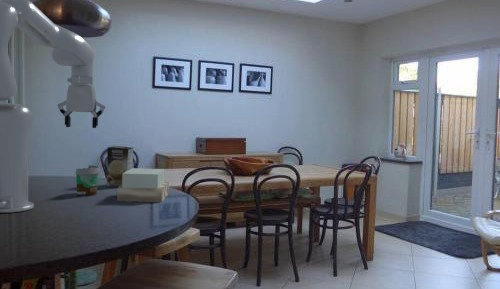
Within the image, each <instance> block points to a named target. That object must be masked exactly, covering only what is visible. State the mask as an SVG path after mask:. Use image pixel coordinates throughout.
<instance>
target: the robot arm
mask: <svg viewBox="0 0 500 289" xmlns="http://www.w3.org/2000/svg"><path fill="white" fill-rule="evenodd" d="M16 28H18V29H19V30H20V31H22V32H23V33H24V34H26V36H28V37H29V38H30V39H31V40H32V41H33V42H35V43H36V44H38V45H41V46H44V47H47V48H51V49H52V51H51V58H52V60H53V61H54V62H55V63H56V64H57V65H59V66H62V67H71V69H70V70H71V73H70V74H71V76H70V78H67V79H66V81H67V83H70V84H69V85H68V87H67V91H66V92H67V93H66V100H65V101H63V102H60V103H58V104H57V108H58V110H59V112H60V113H61V114H62V116H64V125H65V128H70V127H72V126H71V123H72V122H71V121H72V120H71V114H72V113H73V112H74V113H76V112H77V113H91V115H92V116H93V117H92V120H91V121H92V124H91V125H92V129H97V127H98V125H99V117H100V116H101V115H102V114H103V112H104V111H105V109H106V105H103V104H102V103H100V102H99V101H97V97H96V96H97V95H96V90H95V86H94V85H93V81H94V79H93V77H94V73H93V72H94V69H93V68H94V61H95V60H94V59H95V52H94V50H93V48H92V47H91V45H90V44H89V43H88V42H87V41H86V40H85V38H83V37H82V36H81V35H79V34H77V33H75V32H73V31H71V30H69V29H67V28H64V27H62V26H60V25H58V24H56V23H54V22H53V21H52V20H51V19H50V18H48V17H47V15H45V14H44V12H42V10H40V9H39V8H38V7H37V6H36V5H35V4H34V3H33V2H32V1H31V0H0V213H2V214H3V213H4V214H5V213H17V212H18V213H20V212H25V211H29V210H31V209H33V208H35V204H34V202H31V201H29V145H30V136H31V132H32V131H31V130H32V126H33V114H32V112H31V110H30V109H29V108H27V106H25V105H22V104H19V103H11V102H5V101H10V100H12V99H15V97H16V95H17V94H18V84H17V80H16V77H15V74H14V70H13V66H12V64H11V60H10V56H9V50H8V44H9V41H10V39H11V36H12V34H13V33H14V31H15V30H16ZM1 101H4V102H1ZM64 106H65V109H64ZM97 107H99V110H98V111H97Z"/></svg>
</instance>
